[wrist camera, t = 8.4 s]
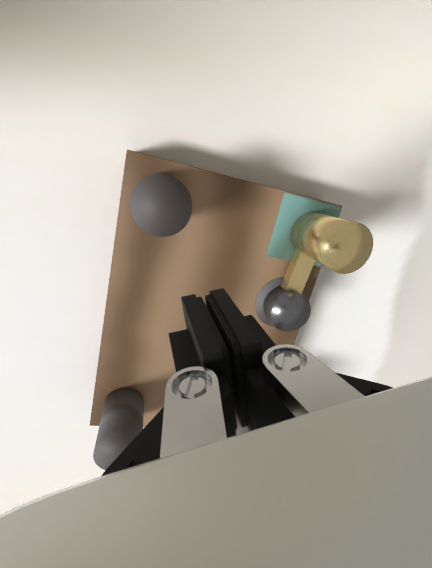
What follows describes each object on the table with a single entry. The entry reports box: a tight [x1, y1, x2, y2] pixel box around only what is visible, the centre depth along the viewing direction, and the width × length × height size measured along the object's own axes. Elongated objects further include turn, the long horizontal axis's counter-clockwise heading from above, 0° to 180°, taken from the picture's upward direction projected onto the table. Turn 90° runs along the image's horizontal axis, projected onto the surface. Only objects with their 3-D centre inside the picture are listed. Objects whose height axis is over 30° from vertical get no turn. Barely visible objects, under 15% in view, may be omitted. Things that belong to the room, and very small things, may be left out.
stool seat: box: [90, 150, 342, 470], centre depth 23 cm, size 16×22×8 cm
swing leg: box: [263, 212, 373, 332], centre depth 22 cm, size 9×3×5 cm, turn 162°
